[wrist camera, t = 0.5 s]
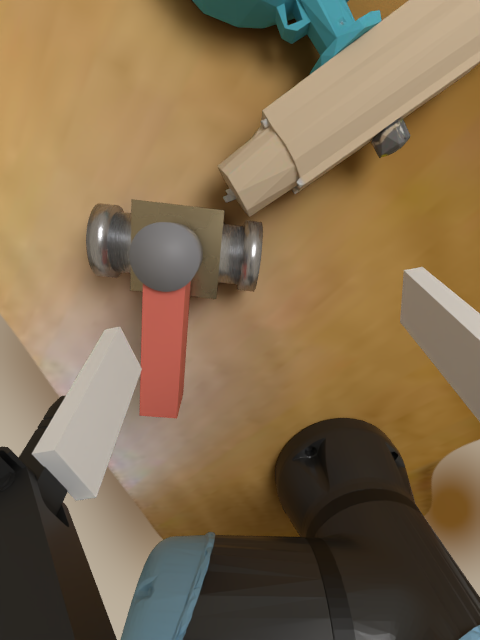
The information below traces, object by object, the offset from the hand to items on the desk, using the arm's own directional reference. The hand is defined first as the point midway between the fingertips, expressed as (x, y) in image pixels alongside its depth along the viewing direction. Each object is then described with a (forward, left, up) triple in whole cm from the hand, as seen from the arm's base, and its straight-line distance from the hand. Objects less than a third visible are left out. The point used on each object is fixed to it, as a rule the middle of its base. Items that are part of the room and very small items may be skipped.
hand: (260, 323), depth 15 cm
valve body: (+2, +6, -18) cm, 19 cm away
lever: (-3, +6, -11) cm, 13 cm away
